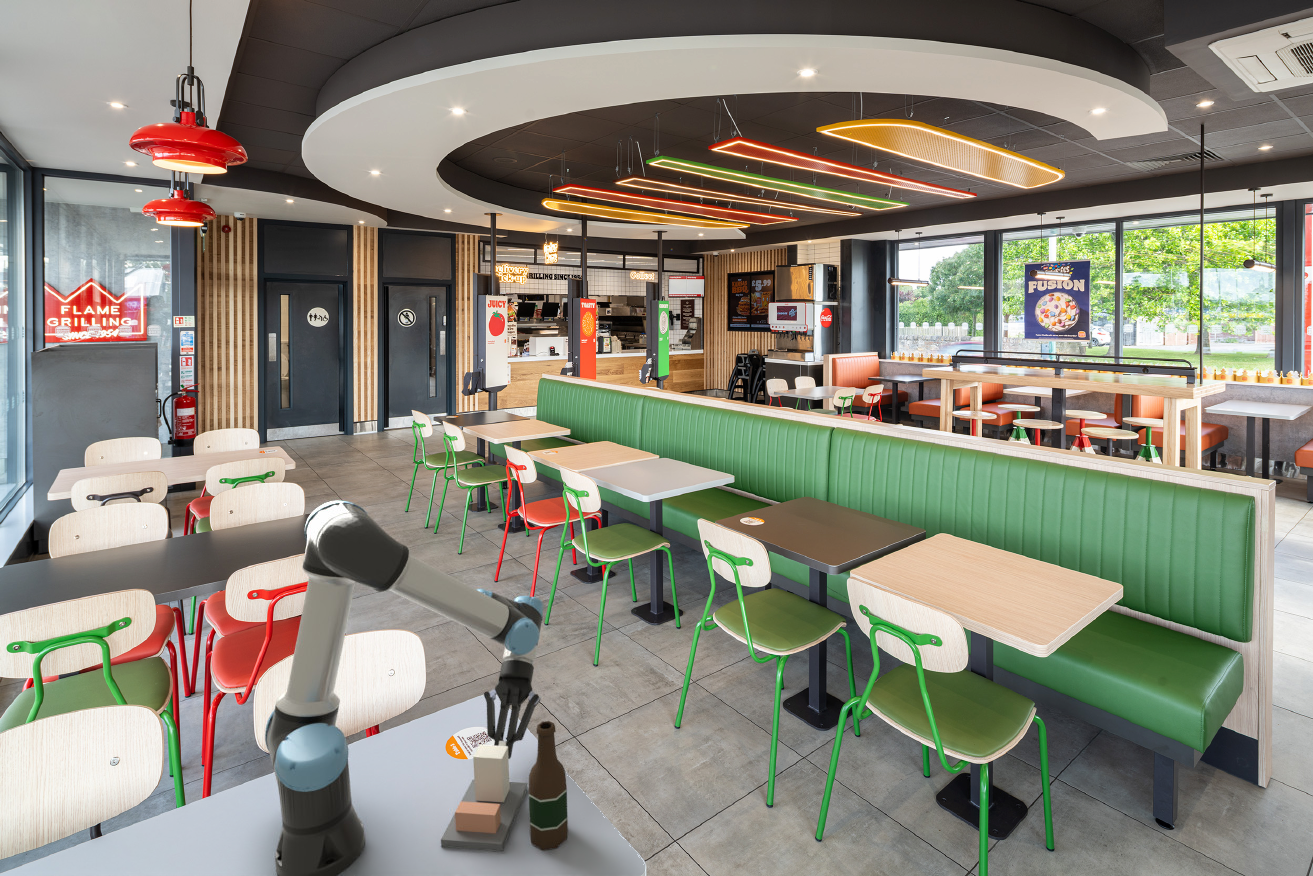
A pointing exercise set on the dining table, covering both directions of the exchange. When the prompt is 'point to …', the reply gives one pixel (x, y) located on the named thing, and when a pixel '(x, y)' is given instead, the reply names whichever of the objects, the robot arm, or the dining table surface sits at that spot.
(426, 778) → the dining table surface
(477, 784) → the cream tall block
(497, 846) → the base
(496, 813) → the peach rectangular block
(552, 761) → the beer bottle
